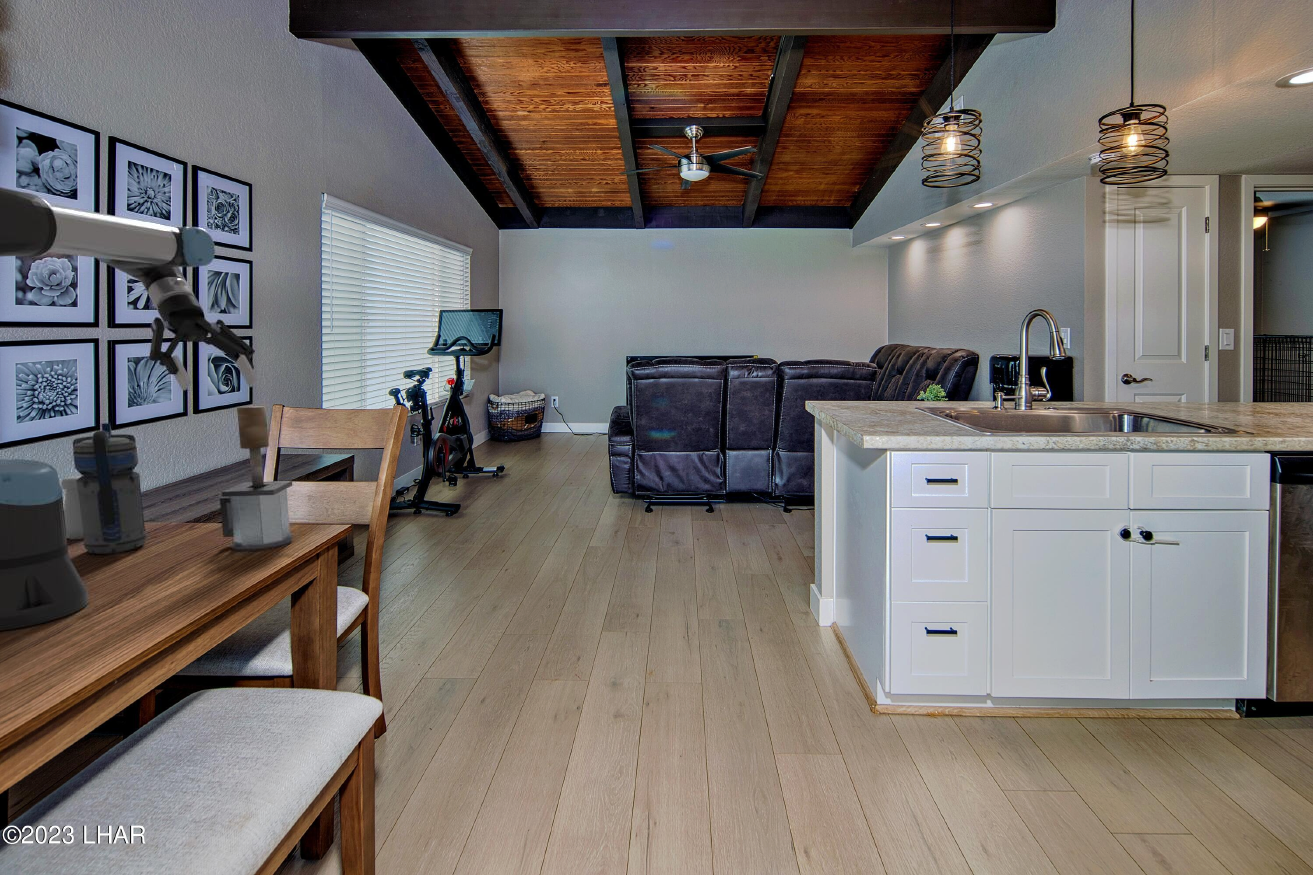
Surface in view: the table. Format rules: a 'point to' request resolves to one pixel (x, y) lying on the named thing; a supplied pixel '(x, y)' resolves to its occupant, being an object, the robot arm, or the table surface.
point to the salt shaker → (72, 509)
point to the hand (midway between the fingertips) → (221, 384)
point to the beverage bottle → (109, 492)
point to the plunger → (253, 438)
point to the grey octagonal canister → (256, 515)
